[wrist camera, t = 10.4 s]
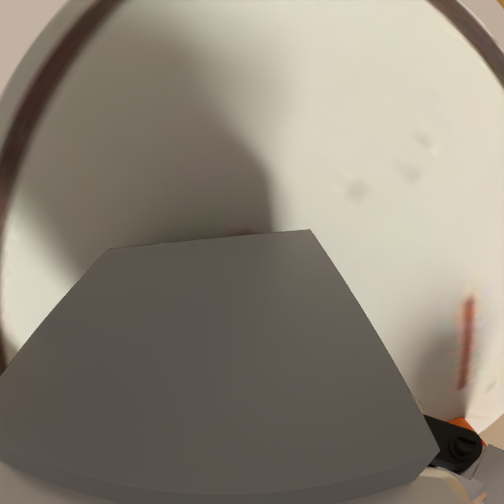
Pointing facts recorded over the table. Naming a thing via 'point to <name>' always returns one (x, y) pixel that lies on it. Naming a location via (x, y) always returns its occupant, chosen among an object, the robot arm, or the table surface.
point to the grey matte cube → (212, 381)
